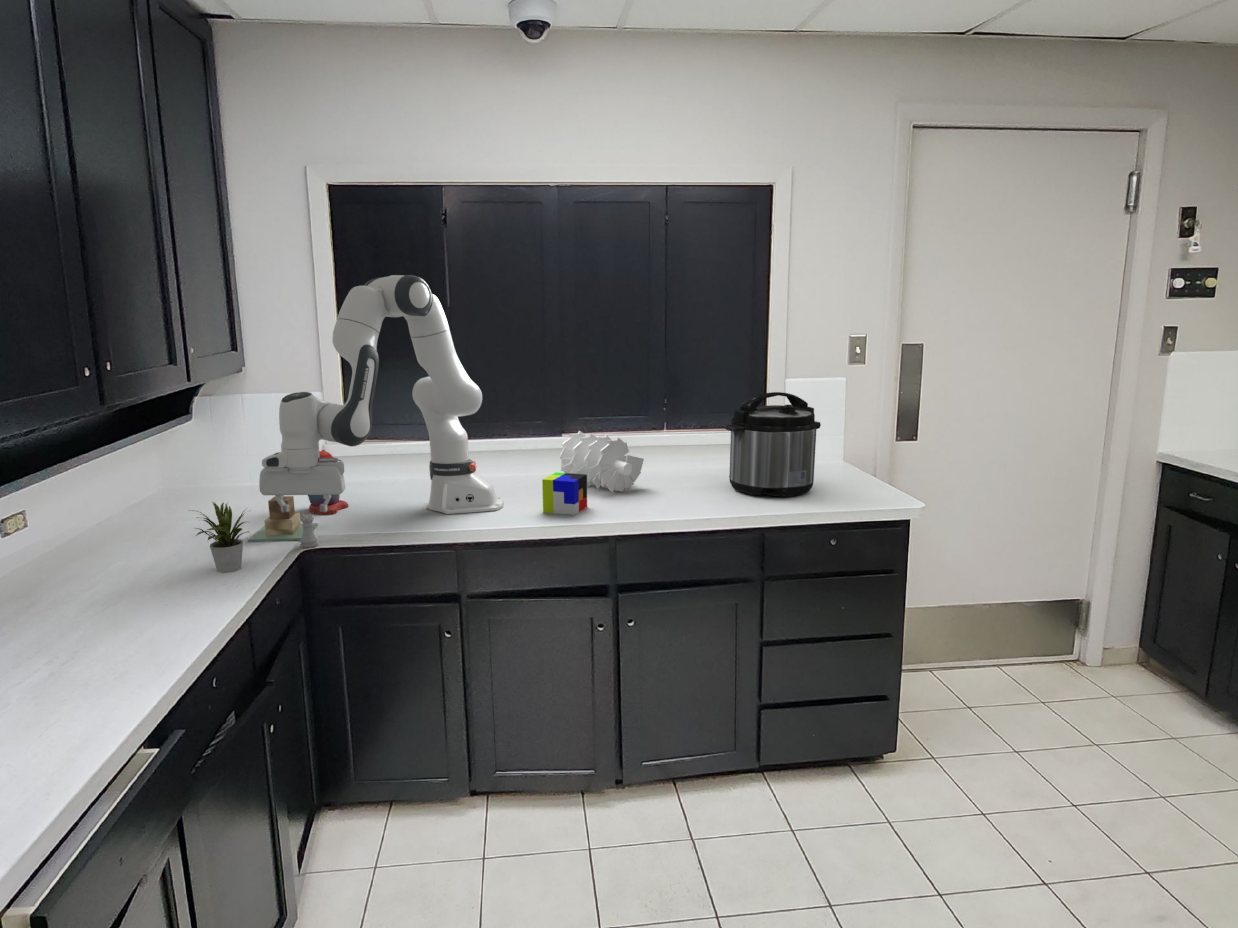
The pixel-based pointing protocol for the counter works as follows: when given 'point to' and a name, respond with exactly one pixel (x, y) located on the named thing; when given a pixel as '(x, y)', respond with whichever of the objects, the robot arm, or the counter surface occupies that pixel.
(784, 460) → the pressure cooker
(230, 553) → the house plant
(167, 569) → the counter surface
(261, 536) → the build pad
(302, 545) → the rook chess piece
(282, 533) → the oak base block
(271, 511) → the walnut cube
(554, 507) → the puzzle toy
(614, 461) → the spiral staircase
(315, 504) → the stacking bear
